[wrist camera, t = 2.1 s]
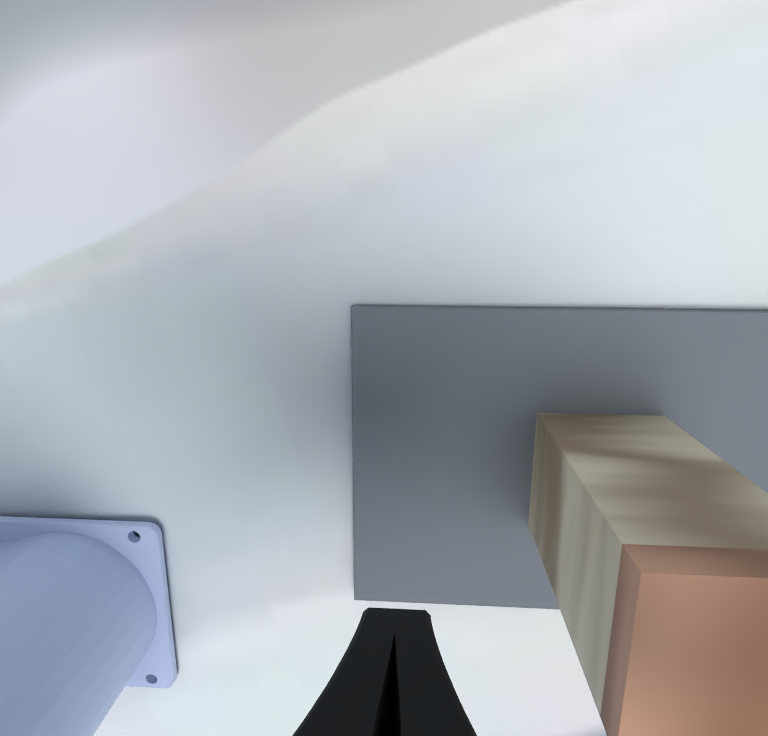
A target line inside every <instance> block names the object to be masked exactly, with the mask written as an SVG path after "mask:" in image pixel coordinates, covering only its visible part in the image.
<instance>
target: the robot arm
mask: <svg viewBox="0 0 768 736" xmlns="http://www.w3.org/2000/svg"><path fill="white" fill-rule="evenodd" d="M133 531H135V532H137V533H138V534H139V535H140V537H136V536H135V535H134V534H133ZM152 674H153V675H155V676H156V677H155V676H153V675H152ZM176 678H177V668H176V659H175V649H174V640H173V631H172V622H171V613H170V604H169V594H168V585H167V576H166V567H165V558H164V548H163V539H162V532H161V529H160V528H159V527H158V525H156V524H154V523H152V522H139V521H112V520H86V519H59V518H32V517H6V516H0V736H93V735H94V733H95V731H96V730H97V728H98V727H99V725H100V724H101V722H102V721H103V719H104V717H105V716H106V714H107V713H108V711H109V710H110V708H111V707H112V705H113V704H114V702H115V700H116V699H117V697H118V696H119V694H120V693H121V691H122V690H123V688H124V686H136V687H154V688H169V687H170V686H172V685H173V683H174V682H175V680H176ZM293 736H477V735H476V733H475V731H474V729H473V727H472V725H471V723H470V721H469V719H468V717H467V715H466V713H465V711H464V709H463V707H462V705H461V703H460V700H459V698H458V696H457V694H456V691H455V689H454V687H453V684H452V682H451V680H450V677H449V675H448V673H447V670H446V668H445V665H444V662H443V660H442V657H441V654H440V651H439V648H438V645H437V642H436V639H435V635H434V632H433V628H432V623H431V616H430V614H429V613H428V612H427V611H426V610H409V609H388V608H367V609H366V610H365V611H364V612H363V614H362V617H361V620H360V623H359V625H358V628H357V630H356V632H355V634H354V636H353V638H352V641H351V643H350V645H349V646H348V648H347V650H346V652H345V654H344V656H343V658H342V660H341V661H340V663H339V665H338V667H337V668H336V670H335V672H334V674H333V675H332V677H331V679H330V681H329V682H328V684H327V686H326V687H325V689H324V690H323V692H322V693H321V695H320V696H319V698H318V699H317V701H316V703H315V704H314V706H313V707H312V709H311V710H310V712H309V713H308V715H307V716H306V718H305V719H304V721H303V722H302V723H301V725H300V726H299V727H298V729H297V730H296V732H295V733H294V734H293Z"/></svg>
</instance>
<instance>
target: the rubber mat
mask: <svg viewBox="0 0 768 736" xmlns="http://www.w3.org/2000/svg"><path fill="white" fill-rule="evenodd" d="M351 329H352V423H353V518H354V600H367V601H389V602H411V603H433V604H455V605H477V606H499V607H521V608H543V609H560V607H559V605H558V602H557V599H556V597H555V594H554V591H553V589H552V586H551V583H550V581H549V578H548V575H547V573H546V570H545V567H544V565H543V562H542V559H541V556H540V554H539V551H538V548H537V546H536V543H535V540H534V538H533V535H532V532H531V530H530V527H529V524H528V520H529V508H530V495H531V482H532V470H533V457H534V444H535V431H536V419H537V413H575V414H617V415H658V416H665V417H667V418H668V419H669V420H671V421H672V422H673V423H675V424H676V425H677V426H679V427H680V428H681V429H683V430H684V431H685V432H687V433H688V434H689V435H691V436H692V437H693V438H695V439H696V440H697V441H699V442H700V443H701V444H703V445H704V446H705V447H707V448H708V449H709V450H711V451H712V452H713V453H714V454H716V455H717V456H718V457H720V458H721V459H722V460H724V461H725V462H726V463H728V464H729V465H730V466H732V467H733V468H734V469H736V470H737V471H738V472H740V473H741V474H742V475H744V476H745V477H746V478H748V479H749V480H750V481H752V482H753V483H754V484H756V485H757V486H758V487H760V488H761V489H762V490H764V491H765V492H766V493H768V310H697V309H619V308H542V307H464V306H386V305H353V306H352V307H351Z"/></svg>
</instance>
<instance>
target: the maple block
mask: <svg viewBox="0 0 768 736" xmlns="http://www.w3.org/2000/svg"><path fill="white" fill-rule="evenodd" d="M528 524H529V527H530V530H531V532H532V535H533V538H534V540H535V543H536V546H537V548H538V551H539V554H540V556H541V559H542V562H543V565H544V567H545V570H546V573H547V575H548V578H549V581H550V583H551V586H552V589H553V591H554V594H555V597H556V599H557V602H558V605H559V607H560V610H561V613H562V615H563V618H564V621H565V623H566V626H567V629H568V631H569V634H570V637H571V640H572V642H573V645H574V648H575V650H576V653H577V656H578V658H579V661H580V664H581V666H582V669H583V672H584V674H585V677H586V680H587V682H588V685H589V688H590V690H591V693H592V696H593V698H594V701H595V704H596V707H597V709H598V712H599V715H600V717H601V720H602V723H603V725H604V728H605V731H606V733H607V736H768V493H766V492H765V491H764V490H762V489H761V488H760V487H758V486H757V485H756V484H754V483H753V482H752V481H750V480H749V479H748V478H746V477H745V476H744V475H742V474H741V473H740V472H738V471H737V470H736V469H734V468H733V467H732V466H730V465H729V464H728V463H726V462H725V461H724V460H722V459H721V458H720V457H718V456H717V455H716V454H714V453H713V452H712V451H711V450H709V449H708V448H707V447H705V446H704V445H703V444H701V443H700V442H699V441H697V440H696V439H695V438H693V437H692V436H691V435H689V434H688V433H687V432H685V431H684V430H683V429H681V428H680V427H679V426H677V425H676V424H675V423H673V422H672V421H671V420H669V419H668V418H667V417H665V416H658V415H617V414H575V413H537V419H536V431H535V444H534V457H533V470H532V482H531V495H530V508H529V520H528Z"/></svg>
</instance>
